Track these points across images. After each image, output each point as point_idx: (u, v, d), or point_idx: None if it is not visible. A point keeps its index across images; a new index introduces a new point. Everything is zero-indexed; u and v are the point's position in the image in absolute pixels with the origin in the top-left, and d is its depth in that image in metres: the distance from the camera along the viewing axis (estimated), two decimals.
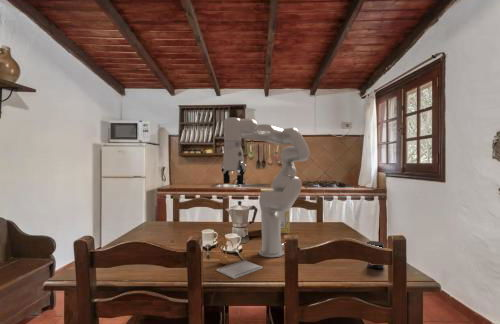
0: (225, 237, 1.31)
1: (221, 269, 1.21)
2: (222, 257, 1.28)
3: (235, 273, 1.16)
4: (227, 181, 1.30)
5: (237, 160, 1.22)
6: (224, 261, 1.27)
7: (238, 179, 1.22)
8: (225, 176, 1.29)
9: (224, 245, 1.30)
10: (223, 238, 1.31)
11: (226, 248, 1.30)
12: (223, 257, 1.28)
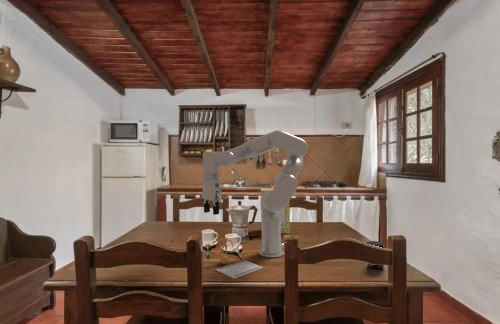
0: (225, 237, 1.31)
1: (221, 269, 1.21)
2: (222, 257, 1.28)
3: (235, 273, 1.16)
4: (207, 210, 1.40)
5: (214, 191, 1.33)
6: (224, 261, 1.27)
7: (214, 210, 1.34)
8: (205, 206, 1.40)
9: (224, 245, 1.30)
10: (223, 238, 1.31)
11: (226, 248, 1.30)
12: (223, 257, 1.28)
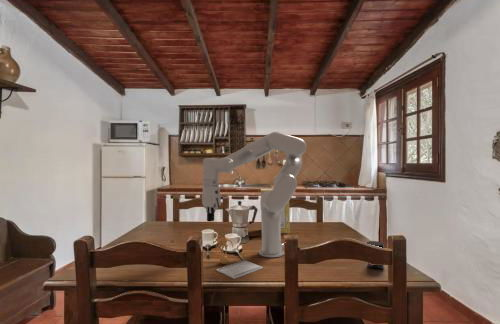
0: (225, 237, 1.31)
1: (221, 269, 1.21)
2: (222, 257, 1.28)
3: (235, 273, 1.16)
4: None
5: (214, 198, 1.33)
6: (224, 261, 1.27)
7: (209, 217, 1.36)
8: None
9: (224, 245, 1.30)
10: (223, 238, 1.31)
11: (226, 248, 1.30)
12: (223, 257, 1.28)
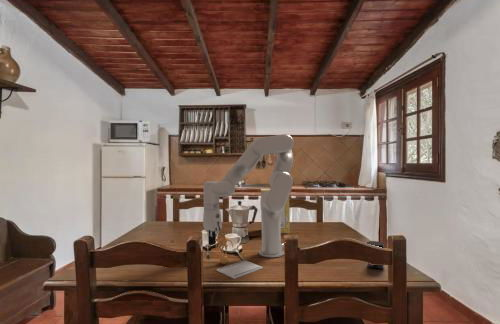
0: (225, 237, 1.31)
1: (221, 269, 1.21)
2: (222, 257, 1.28)
3: (235, 273, 1.16)
4: None
5: (215, 222, 1.33)
6: (224, 261, 1.27)
7: (210, 240, 1.36)
8: None
9: (224, 245, 1.30)
10: (223, 238, 1.31)
11: (226, 248, 1.30)
12: (223, 257, 1.28)
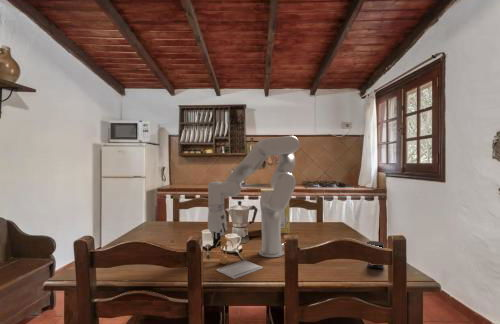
0: (225, 237, 1.31)
1: (221, 269, 1.21)
2: (222, 257, 1.28)
3: (235, 273, 1.16)
4: (217, 244, 1.35)
5: (220, 223, 1.30)
6: (224, 261, 1.27)
7: (215, 242, 1.33)
8: None
9: (224, 245, 1.30)
10: (223, 238, 1.31)
11: (226, 248, 1.30)
12: (223, 257, 1.28)
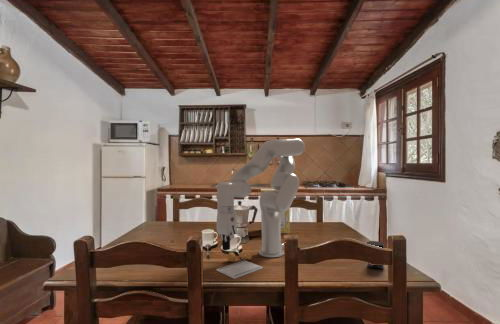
0: (251, 254, 1.34)
1: (221, 269, 1.21)
2: None
3: (235, 273, 1.16)
4: None
5: (230, 226, 1.24)
6: (229, 253, 1.32)
7: (225, 245, 1.28)
8: None
9: None
10: (250, 254, 1.35)
11: (241, 255, 1.32)
12: (233, 253, 1.33)
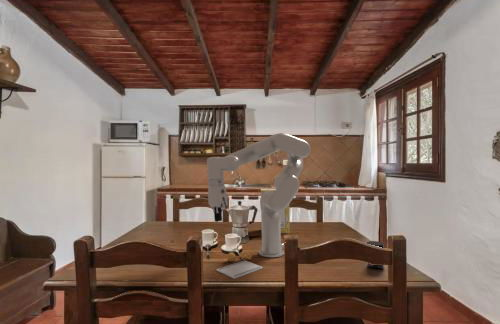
0: (251, 254, 1.34)
1: (221, 269, 1.21)
2: None
3: (235, 273, 1.16)
4: None
5: (220, 197, 1.30)
6: (229, 253, 1.32)
7: (216, 217, 1.33)
8: None
9: None
10: (250, 254, 1.35)
11: (241, 255, 1.32)
12: (233, 253, 1.33)
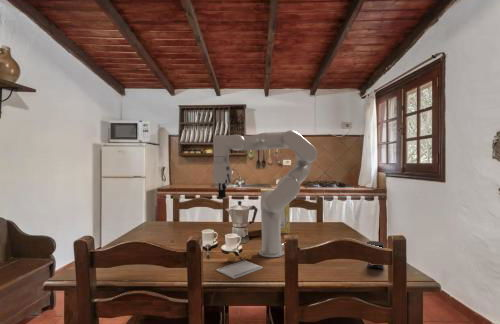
0: (251, 254, 1.34)
1: (221, 269, 1.21)
2: None
3: (235, 273, 1.16)
4: None
5: (225, 174, 1.35)
6: (229, 253, 1.32)
7: (220, 193, 1.38)
8: None
9: None
10: (250, 254, 1.35)
11: (241, 255, 1.32)
12: (233, 253, 1.33)
